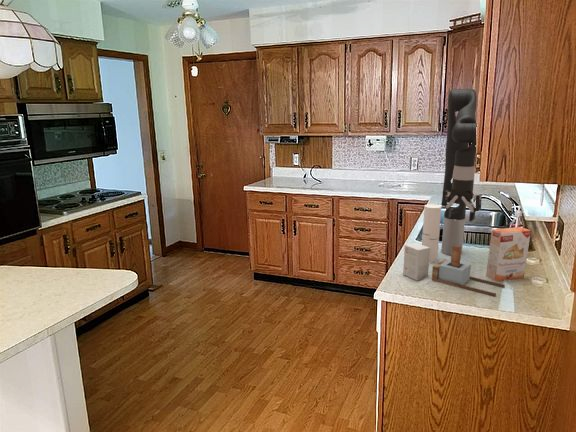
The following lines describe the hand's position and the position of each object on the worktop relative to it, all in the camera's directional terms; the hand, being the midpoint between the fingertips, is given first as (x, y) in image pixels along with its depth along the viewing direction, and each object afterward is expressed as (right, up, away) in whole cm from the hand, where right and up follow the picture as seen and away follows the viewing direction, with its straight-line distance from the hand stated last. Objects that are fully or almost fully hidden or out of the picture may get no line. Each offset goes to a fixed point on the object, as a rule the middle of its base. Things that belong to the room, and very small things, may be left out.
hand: (459, 219), depth 172 cm
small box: (-13, -24, +13) cm, 30 cm away
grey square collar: (0, -24, +5) cm, 25 cm away
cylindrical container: (-2, -19, +31) cm, 36 cm away
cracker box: (+22, -24, +9) cm, 34 cm away
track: (+4, -26, +2) cm, 26 cm away
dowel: (0, -22, +5) cm, 23 cm away
